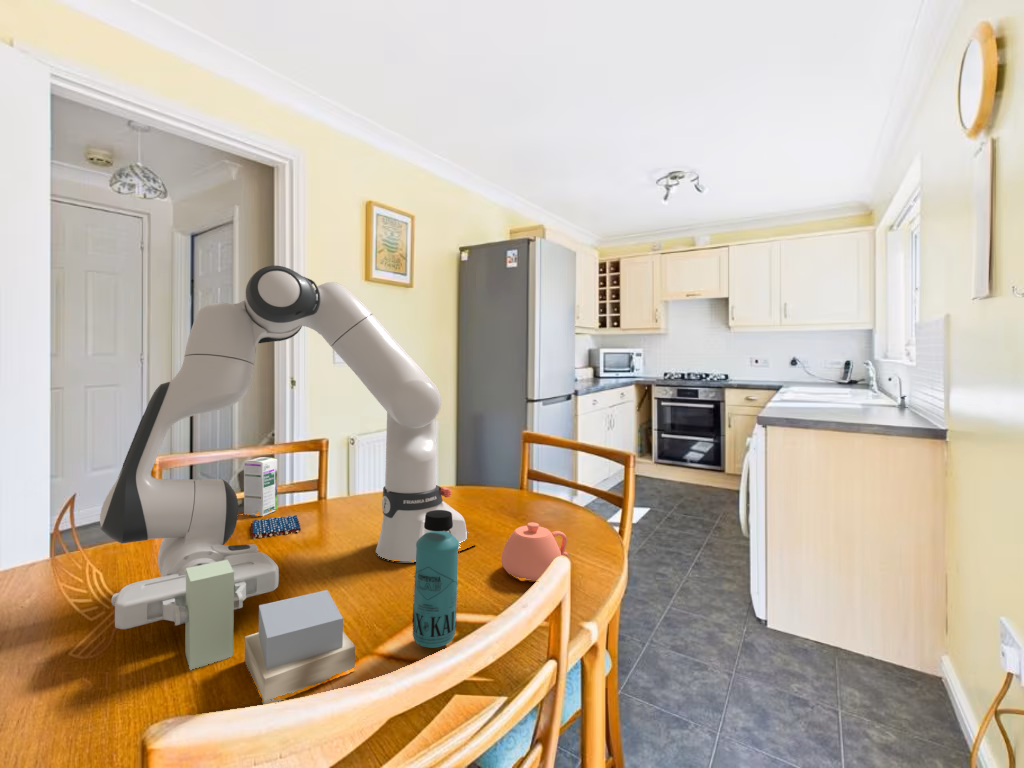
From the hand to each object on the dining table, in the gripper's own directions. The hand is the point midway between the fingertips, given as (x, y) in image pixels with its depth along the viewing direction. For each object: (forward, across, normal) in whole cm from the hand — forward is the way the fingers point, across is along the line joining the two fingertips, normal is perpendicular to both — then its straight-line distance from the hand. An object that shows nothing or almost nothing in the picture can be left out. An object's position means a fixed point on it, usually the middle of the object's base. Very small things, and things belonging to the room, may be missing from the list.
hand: (210, 611), depth 65 cm
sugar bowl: (+7, +55, +7) cm, 56 cm away
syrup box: (-63, +20, +7) cm, 66 cm away
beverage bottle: (+16, +26, +7) cm, 31 cm away
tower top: (+9, +9, +3) cm, 13 cm away
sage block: (-1, 0, +7) cm, 7 cm away
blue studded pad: (-48, +20, +7) cm, 52 cm away
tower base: (+9, +9, +7) cm, 15 cm away
